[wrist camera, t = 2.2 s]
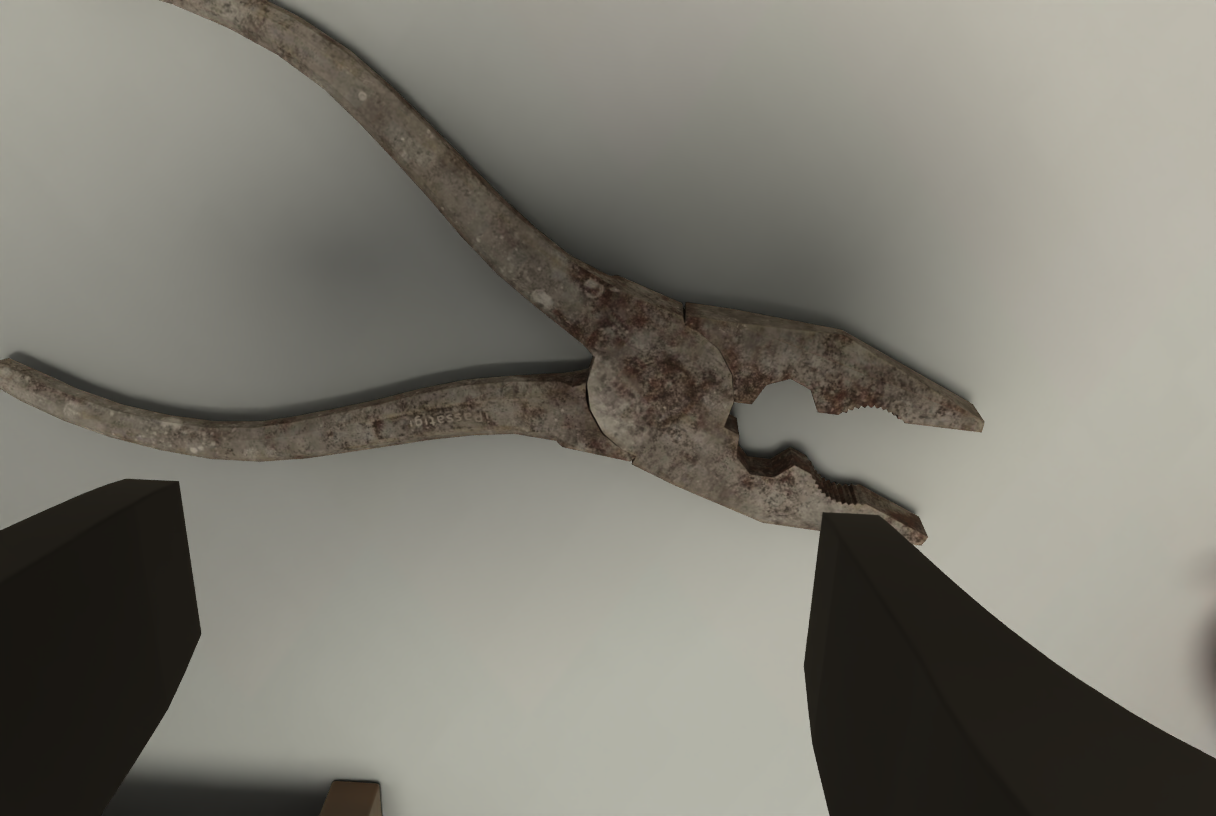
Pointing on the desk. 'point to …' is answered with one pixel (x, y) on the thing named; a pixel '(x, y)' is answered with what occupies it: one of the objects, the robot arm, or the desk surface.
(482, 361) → the desk surface
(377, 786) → the brown wooden bridge block
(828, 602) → the robot arm
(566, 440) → the pliers
